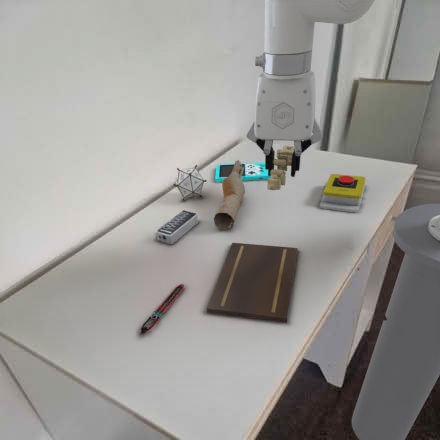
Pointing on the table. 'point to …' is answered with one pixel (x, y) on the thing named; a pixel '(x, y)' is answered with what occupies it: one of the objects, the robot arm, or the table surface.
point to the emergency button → (343, 193)
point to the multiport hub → (177, 227)
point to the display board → (255, 282)
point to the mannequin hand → (231, 197)
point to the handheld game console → (250, 171)
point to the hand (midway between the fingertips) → (282, 172)
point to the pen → (161, 309)
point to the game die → (189, 182)
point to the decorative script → (280, 168)
